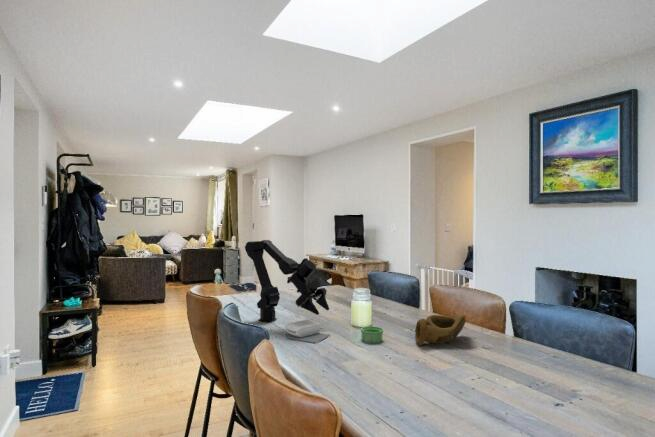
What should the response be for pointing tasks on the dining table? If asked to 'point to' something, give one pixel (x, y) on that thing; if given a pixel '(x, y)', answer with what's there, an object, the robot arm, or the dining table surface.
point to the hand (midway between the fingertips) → (323, 311)
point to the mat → (310, 337)
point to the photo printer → (303, 328)
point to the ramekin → (372, 334)
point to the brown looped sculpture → (438, 329)
